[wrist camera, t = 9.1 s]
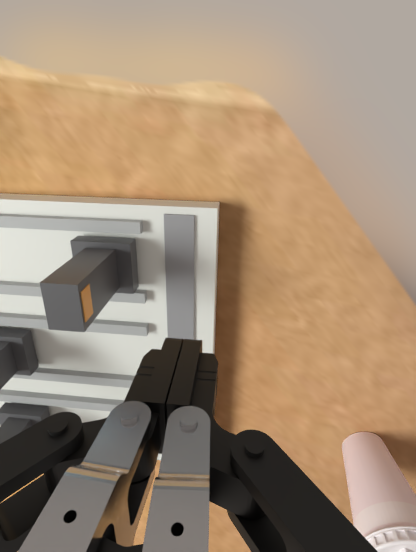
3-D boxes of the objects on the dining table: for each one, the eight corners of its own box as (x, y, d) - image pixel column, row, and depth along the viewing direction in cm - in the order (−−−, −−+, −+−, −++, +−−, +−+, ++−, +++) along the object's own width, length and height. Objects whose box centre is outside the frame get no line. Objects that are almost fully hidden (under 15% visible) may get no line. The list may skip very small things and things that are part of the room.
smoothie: (396, 415, 30) (510, 634, 17) (402, 466, 32) (507, 692, 19) (321, 425, 31) (374, 636, 18) (332, 473, 33) (386, 689, 21)
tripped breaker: (135, 238, 23) (95, 279, 17) (138, 286, 24) (103, 339, 18) (78, 235, 23) (19, 274, 17) (85, 283, 25) (32, 334, 19)
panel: (219, 202, 24) (206, 242, 16) (211, 446, 33) (200, 551, 25) (-98, 189, 26) (-258, 218, 17) (-19, 423, 35) (-98, 513, 27)
